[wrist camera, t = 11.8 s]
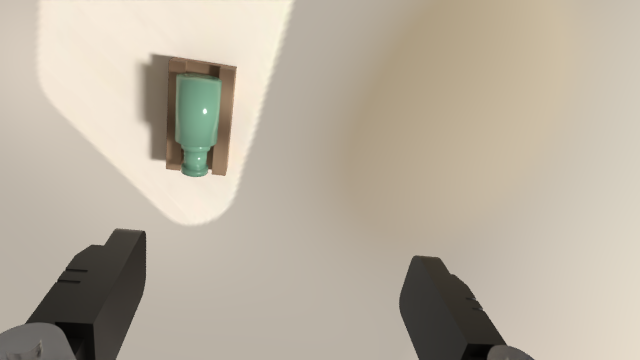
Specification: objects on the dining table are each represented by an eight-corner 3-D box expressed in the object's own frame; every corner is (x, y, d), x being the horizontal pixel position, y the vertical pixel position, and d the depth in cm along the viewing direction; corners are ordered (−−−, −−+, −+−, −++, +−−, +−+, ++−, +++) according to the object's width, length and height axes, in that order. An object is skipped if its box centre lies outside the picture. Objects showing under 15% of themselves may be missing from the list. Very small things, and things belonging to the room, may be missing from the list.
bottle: (180, 71, 39) (173, 79, 35) (223, 77, 39) (220, 86, 36) (177, 161, 42) (170, 177, 39) (216, 165, 43) (213, 181, 40)
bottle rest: (174, 56, 39) (169, 60, 37) (236, 66, 40) (234, 70, 39) (170, 160, 44) (166, 168, 42) (227, 167, 45) (225, 175, 43)
